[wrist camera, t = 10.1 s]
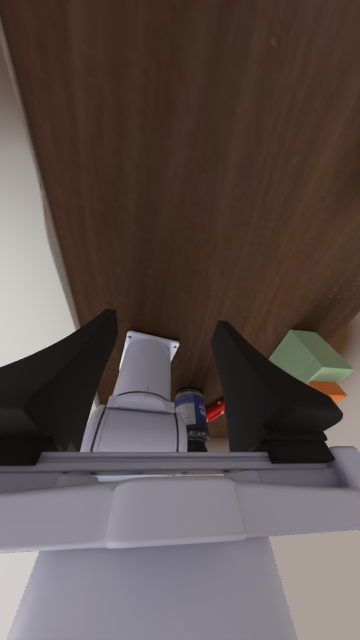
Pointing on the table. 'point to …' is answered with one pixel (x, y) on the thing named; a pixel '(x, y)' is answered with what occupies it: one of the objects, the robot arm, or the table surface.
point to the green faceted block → (309, 358)
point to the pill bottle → (193, 418)
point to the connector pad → (329, 390)
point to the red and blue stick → (215, 411)
